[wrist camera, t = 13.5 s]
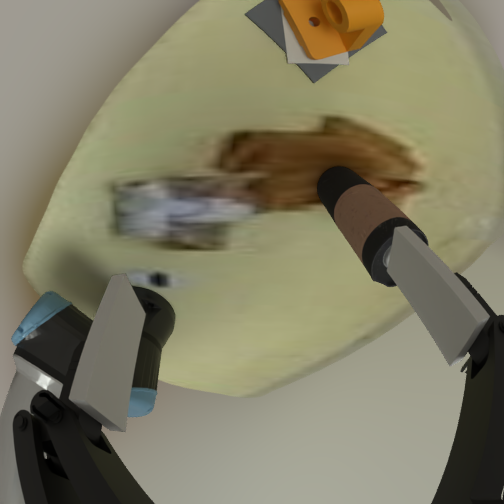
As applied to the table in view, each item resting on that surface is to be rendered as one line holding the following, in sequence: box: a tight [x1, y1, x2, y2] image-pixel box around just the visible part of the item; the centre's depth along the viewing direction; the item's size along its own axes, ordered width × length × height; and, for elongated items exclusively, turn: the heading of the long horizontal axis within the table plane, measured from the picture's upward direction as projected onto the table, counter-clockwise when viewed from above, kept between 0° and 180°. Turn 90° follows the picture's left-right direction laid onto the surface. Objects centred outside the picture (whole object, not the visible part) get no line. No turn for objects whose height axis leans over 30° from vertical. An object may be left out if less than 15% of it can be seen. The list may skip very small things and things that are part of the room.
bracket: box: [278, 0, 384, 60], centre depth 21 cm, size 11×7×12 cm, turn 26°
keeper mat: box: [245, 0, 387, 83], centre depth 26 cm, size 16×17×1 cm
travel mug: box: [317, 166, 428, 287], centre depth 33 cm, size 8×8×20 cm
